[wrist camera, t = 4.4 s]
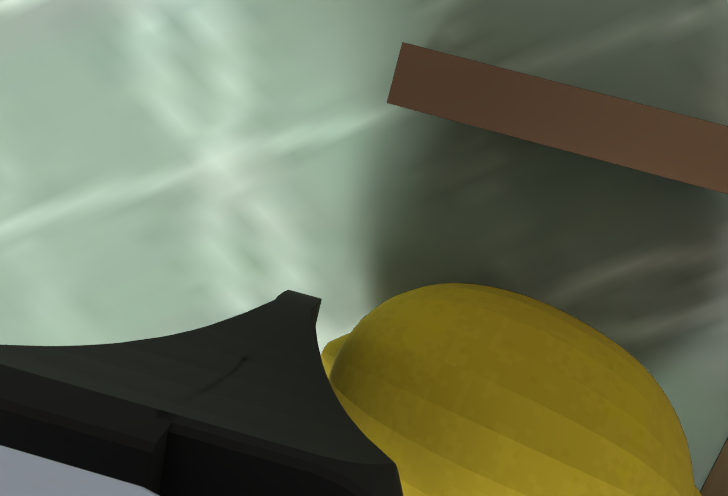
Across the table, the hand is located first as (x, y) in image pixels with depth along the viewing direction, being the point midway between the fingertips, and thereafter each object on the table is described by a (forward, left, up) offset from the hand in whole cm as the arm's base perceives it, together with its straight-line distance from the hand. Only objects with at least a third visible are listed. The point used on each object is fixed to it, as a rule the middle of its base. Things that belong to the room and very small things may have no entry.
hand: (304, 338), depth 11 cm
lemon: (-1, 0, -1) cm, 1 cm away
